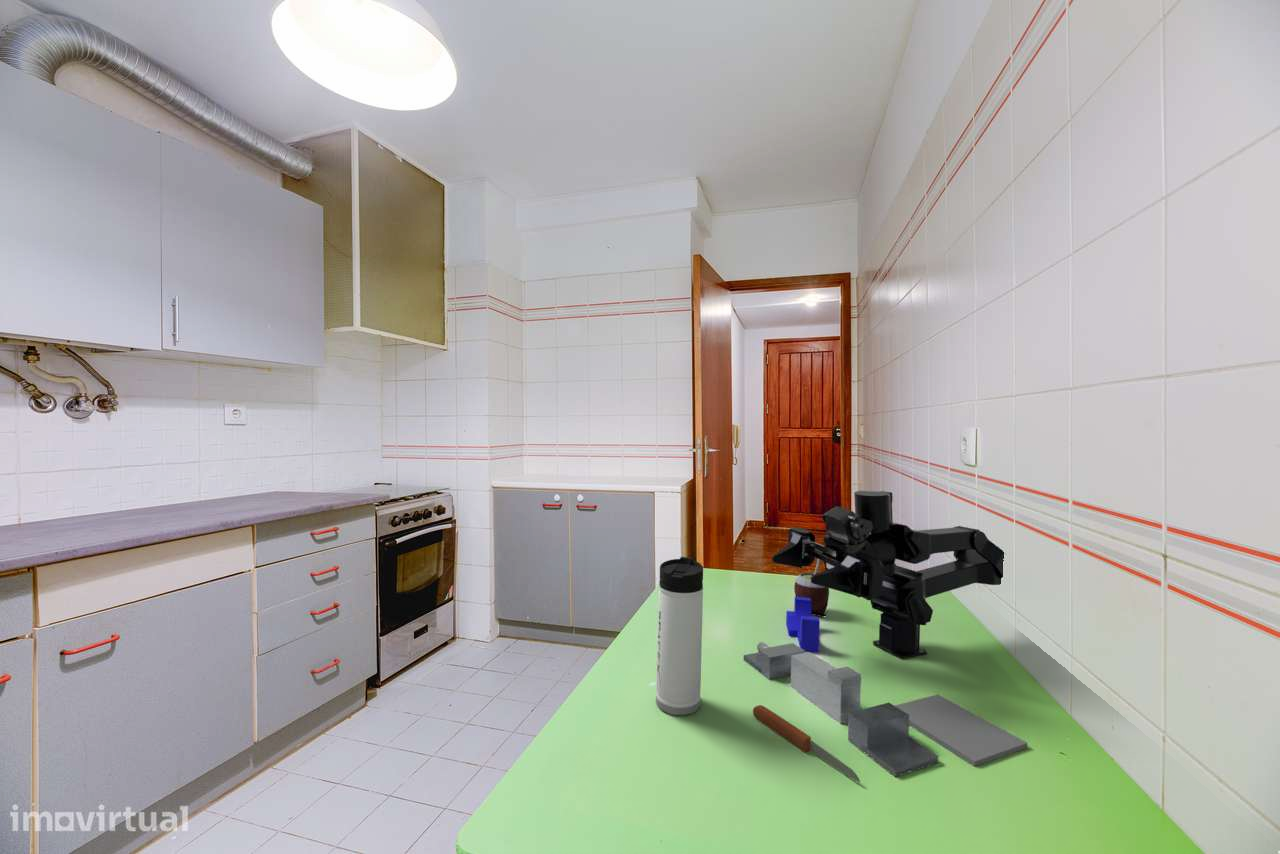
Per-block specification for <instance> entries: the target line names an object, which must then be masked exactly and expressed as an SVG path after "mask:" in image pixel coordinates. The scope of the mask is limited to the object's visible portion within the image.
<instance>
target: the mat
mask: <svg viewBox="0 0 1280 854" xmlns="http://www.w3.org/2000/svg"><path fill="white" fill-rule="evenodd" d="M894 706H896V707H897V708H899V709H900V710H902V711H904V712H905V713H907V714H909V727H912V728H914V729H915V730H917V731H919V733H921V734H923V735H925V736H926V737H928V738H929V739H931V740H932V741H934V742H936V743H937V744H939V745H940V746H942V747H943V748H944V749H947V750H948V751H950V752H951V753H953V754H955V755H956V756H957V757H958V758H960V759H962V760H964V761H965V762H967V763H968V764H969V765H972V766H973V767H977V766H979V765H982V764H985V763H988V762H991V761H994V760H997V759H1000V758H1003V757H1006V756H1008V755H1011V754H1013V753H1016V752H1019V751H1022V750H1025V749H1027V748H1028V742H1027V741H1025V740H1023V739H1021V738H1019V737H1018V736H1016V735H1014V734H1012V733H1010V732H1009V731H1006V730H1004V729H1003V728H1001V727H999V726H997V725H995V724H993V723H992V722H990V721H988V720H986V719H984V718H983V717H981V716H979V715H977V714H975V713H973V712H971V711H970V710H968V709H966V708H964V707H962V706H960V705H958V704H957V703H954V702H953V701H951V700H950V699H947V698H946V697H944V696H942V695H940V694H933V695H930V696H925V697H923V698H918V699H914V700H911V701H907V702H902V703H900V704H896V705H894Z"/></svg>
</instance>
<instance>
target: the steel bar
mask: <svg viewBox="0 0 1280 854" xmlns="http://www.w3.org/2000/svg"><path fill="white" fill-rule="evenodd" d="M861 685H862V674H861V673H859V672H857V671H856V670H854V669H852V668H850V667H849V666H844V667H839V668H836V667H835V666H833V665H832V664H830V663H829V662H827V661H825V660H824V659H821V658H820V657H818V656H817V655H815V653H810V652H805V653H802V654H796V655H791V675H790V688H791V687H792V688H793V689H792V688H791V689H792V690H794V689H795V690H796V691H797V692H796V691H795V690H794V691H795V692H796V693H798V694H799V695H800V694H801V695H800V696H802V697H803V698H804V697H805V698H804V699H806V700H807V701H808V700H809V701H808V702H810V703H811V704H812V703H813V705H814V706H815V707H816V706H817V707H816V708H818V709H819V710H820V709H821V710H820V711H822V712H823V713H824V714H826V715H827V716H828V717H830V718H831V719H832V720H834V721H835V720H836V721H835V722H837V723H838V722H839V723H840V724H839V723H838V724H839V725H842V724H841V723H843V724H846V723H845V722H847V723H848V720H849V713H850V712H854V711H858V710H861V694H862V693H861V689H862V688H861V687H862V686H861Z"/></svg>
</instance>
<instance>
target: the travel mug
mask: <svg viewBox="0 0 1280 854" xmlns="http://www.w3.org/2000/svg"><path fill="white" fill-rule="evenodd" d="M659 565H660V566H659V582H658V583H659V584H658V589H659V590H658V610H657V613H658V614H657V616H658V617H657V644H656V645H657V646H656V647H657V650H656V652H657V653H656V684H655V685H656V686H655V687H656V691H655V703H656V705H657V707H658V708H659V709H660V710H661V711H662V712H664V713H667V714H668V715H669V714H670V715H673V716H688V715H690V714H694V713H695V712H697V710H699V708H700V706H701V690H702V689H701V684H702V683H701V682H702V681H701V680H702V679H701V678H702V647H703V645H702V644H703V643H702V642H703V641H702V638H703V607H704V606H703V605H704V600H703V599H704V592H703V591H704V582H703V580H704V566H703V565H702V563H700V562H699V561H696V560H694V559H693V557H687V556H680V558H674V559H668V560H665V561H663V562H662V563H661V564H659Z"/></svg>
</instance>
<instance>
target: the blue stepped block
mask: <svg viewBox="0 0 1280 854" xmlns="http://www.w3.org/2000/svg"><path fill="white" fill-rule="evenodd" d="M793 601H794V606H793V607H794V608H793V610H792V611H791V610H786V616H785V617H786V618H785V619H786V620H785V621H786V622H785V623H786V624H785V626H786V630H787V633H788V637H789V636H790V638H796V637H797V638H798V639H797V641H798V644H799V645H798V647H800V648H802V649H803V650H805V653H807V652H810V653H812V654H820V627H821V626H820V623H821V622H820V618H819V616H817V617H816V616H812V615H811V599H810V598H804V597H795V596H794V600H793Z"/></svg>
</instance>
